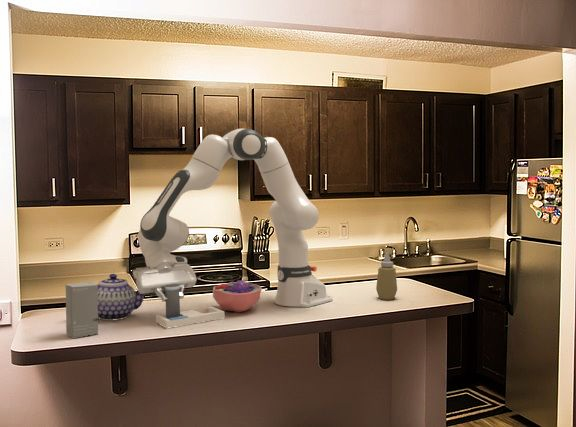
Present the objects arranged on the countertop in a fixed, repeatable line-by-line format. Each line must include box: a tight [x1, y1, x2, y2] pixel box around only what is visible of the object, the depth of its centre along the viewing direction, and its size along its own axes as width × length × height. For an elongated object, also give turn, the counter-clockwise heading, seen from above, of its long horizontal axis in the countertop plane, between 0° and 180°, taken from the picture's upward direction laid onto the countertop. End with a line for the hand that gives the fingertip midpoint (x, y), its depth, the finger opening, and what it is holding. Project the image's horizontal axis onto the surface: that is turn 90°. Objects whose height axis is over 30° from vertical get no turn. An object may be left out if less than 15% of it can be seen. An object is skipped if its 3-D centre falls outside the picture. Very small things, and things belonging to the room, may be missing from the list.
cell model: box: [212, 279, 263, 313], centre depth 213 cm, size 17×20×11 cm
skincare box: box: [64, 282, 99, 339], centre depth 184 cm, size 8×7×16 cm
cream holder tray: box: [155, 306, 226, 329], centre depth 199 cm, size 21×8×3 cm, turn 125°
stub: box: [165, 284, 181, 319], centre depth 196 cm, size 5×5×11 cm
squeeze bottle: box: [375, 252, 398, 301], centre depth 230 cm, size 8×8×18 cm
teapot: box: [97, 273, 145, 321], centre depth 205 cm, size 25×15×15 cm, turn 110°
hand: (173, 299), depth 195 cm, fingers closed on stub, 4 cm apart
